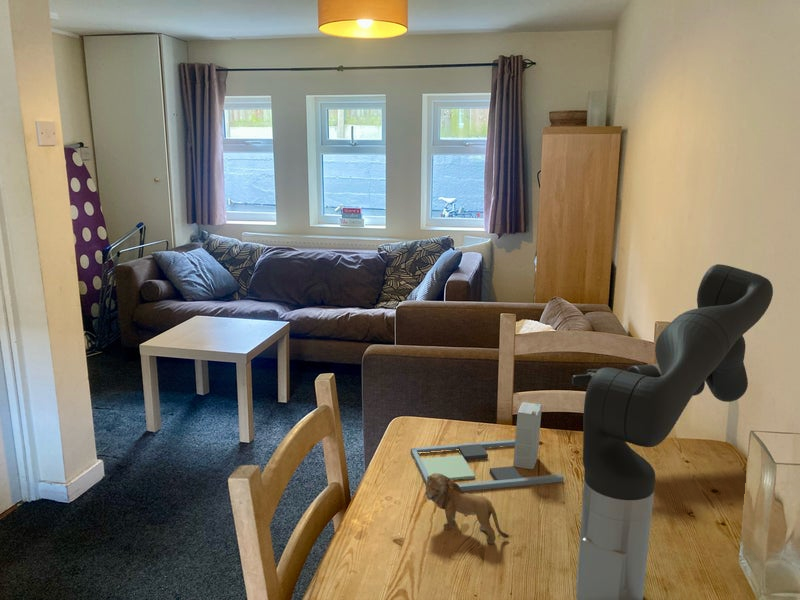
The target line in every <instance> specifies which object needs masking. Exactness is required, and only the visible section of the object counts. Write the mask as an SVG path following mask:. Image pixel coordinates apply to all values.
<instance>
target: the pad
mask: <svg viewBox="0 0 800 600" xmlns="http://www.w3.org/2000/svg"><path fill="white" fill-rule="evenodd" d="M421 460H422V462H423V464H424V466H425V468H426V470H427V472H428V474H429V476H430V475H432V474H434V473H436V474H437V473H439V474H443V475H444V476H446V477H448V478H450V480H452V481H458V480H457V479H463V480H471V479H472V480H473V479H476V474H475V473H474V471H473V470H472V468H471V467H470V464H468V461H466V460H465V459H464V457H463V456H462V455H461V454H460V455H446V456H436V457H424V458H421Z"/></svg>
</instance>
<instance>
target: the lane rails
mask: <svg viewBox="0 0 800 600" xmlns="http://www.w3.org/2000/svg"><path fill="white" fill-rule="evenodd" d="M475 444H481V446H482V447H483V448H486V449H490V448H489V447H498V448H501V447H500V446H509V447H515V439H508V440H507V439H505V440H503V439H502V440H492V441H481V442H469V443H467V442H466V443H459V444H445V445H432V446H422V447H421V446H420V447H410V454H411V453H412V454H411V456H412V455H413V456H412V458H413V457H414V458H413V460H414V459H415V461H416V463H417V465H418V467H417V469H418V468H419V469H418V471H419V470H420V471H419V472H421V473H420V474H422V475H421V477H422V476H423V477H422V479H423V481H425V482H424V483H427V476H429V474H428V472H427V470H426V468H425V466H424V464H423V462H422V460H421V459H422V458H421V457H420V454H418V452H431V451H441V450H456V449H459V446H463V445H467V446H468V445H475ZM415 461H414V462H415ZM416 463H415V464H416ZM417 465H416V466H417ZM562 482H564V475H563V474H562V473H561V474H558V473H557V474H552V475H551V474H550V475H539V476H538V475H537V476H528V477H522V478H519V479H507V480H486V481H485V480H484V481H476V482H465V483H457V484H458V485H459V487H460V488H461V490H462V491H463V492H471V491H479V490H480V491H483V490H489V489H491V490H493V489H500V488H502V489H503V488H511V487H519V486H520V487H522V486H523V487H524V486H533V485H543V484H551V483H552V484H553V483H554V484H555V483H562ZM470 490H471V491H470Z"/></svg>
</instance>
